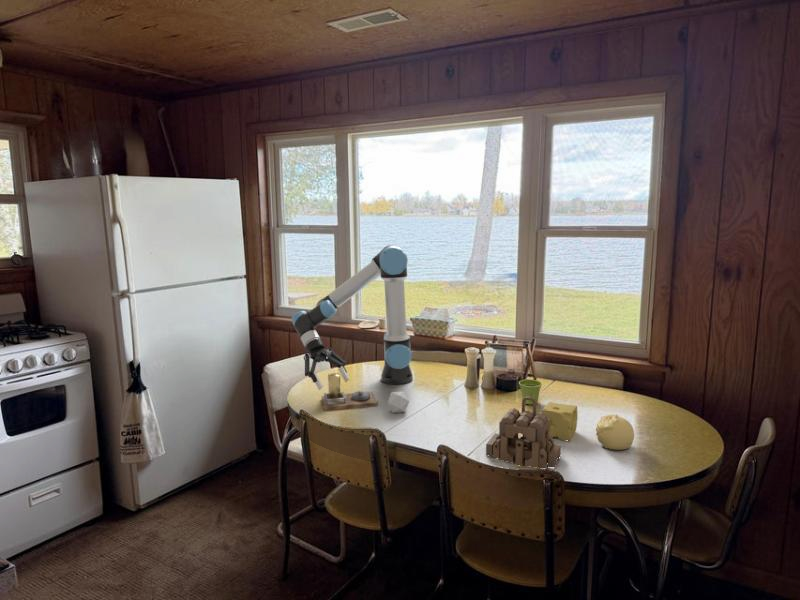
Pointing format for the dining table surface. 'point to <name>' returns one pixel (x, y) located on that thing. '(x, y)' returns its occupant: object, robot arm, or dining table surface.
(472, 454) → the dining table surface
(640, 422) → the dining table surface
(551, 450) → the wooden puzzle
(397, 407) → the die
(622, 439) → the sculpture
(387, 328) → the robot arm
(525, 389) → the plant pot
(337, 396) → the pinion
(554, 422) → the cheese
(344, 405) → the gear board
